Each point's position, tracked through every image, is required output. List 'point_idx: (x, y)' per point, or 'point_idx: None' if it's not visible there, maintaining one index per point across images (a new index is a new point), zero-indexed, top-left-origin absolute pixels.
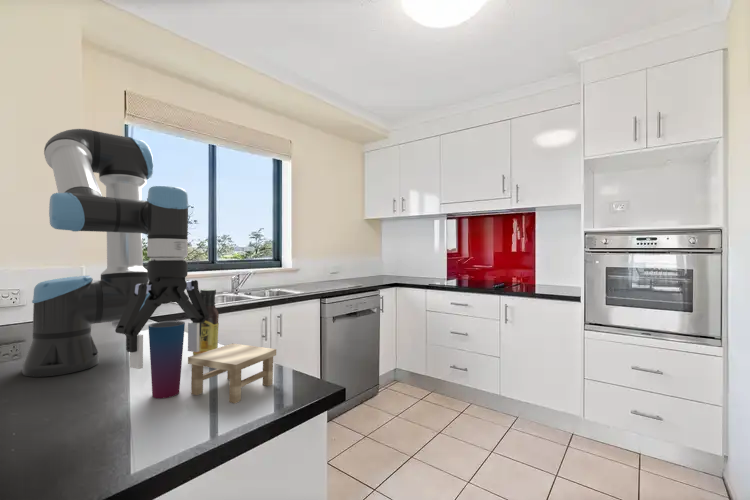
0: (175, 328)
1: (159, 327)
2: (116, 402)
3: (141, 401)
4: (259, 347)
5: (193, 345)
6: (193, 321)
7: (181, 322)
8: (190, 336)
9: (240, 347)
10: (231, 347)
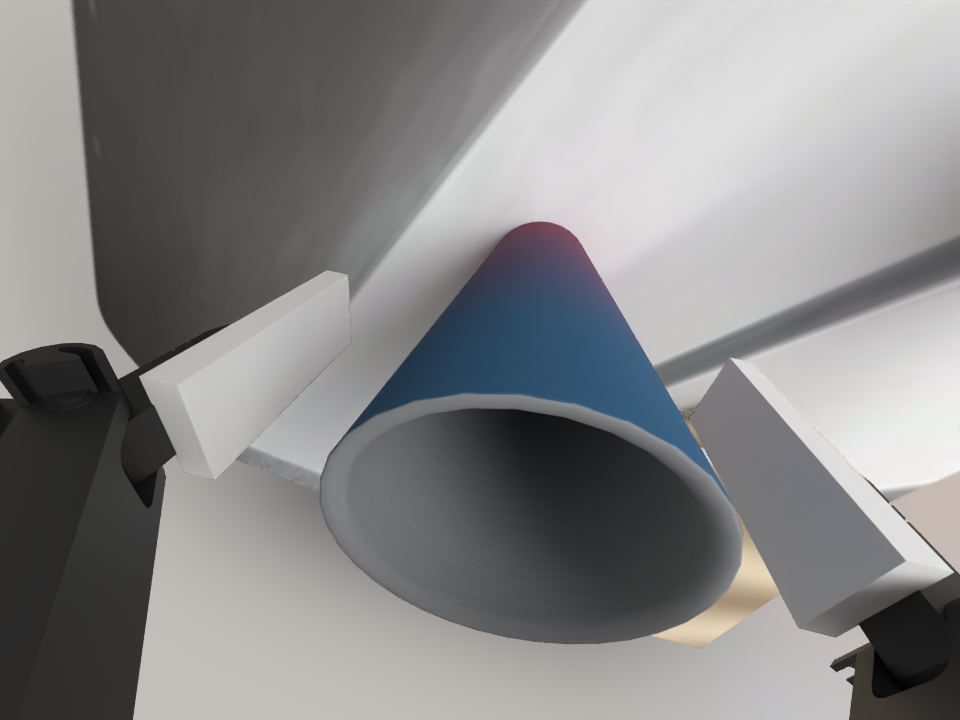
0: (455, 594)
1: (348, 552)
2: (415, 130)
3: (454, 231)
4: (737, 615)
5: (720, 426)
6: (922, 611)
7: (662, 610)
8: (774, 452)
9: (747, 569)
10: (752, 543)
